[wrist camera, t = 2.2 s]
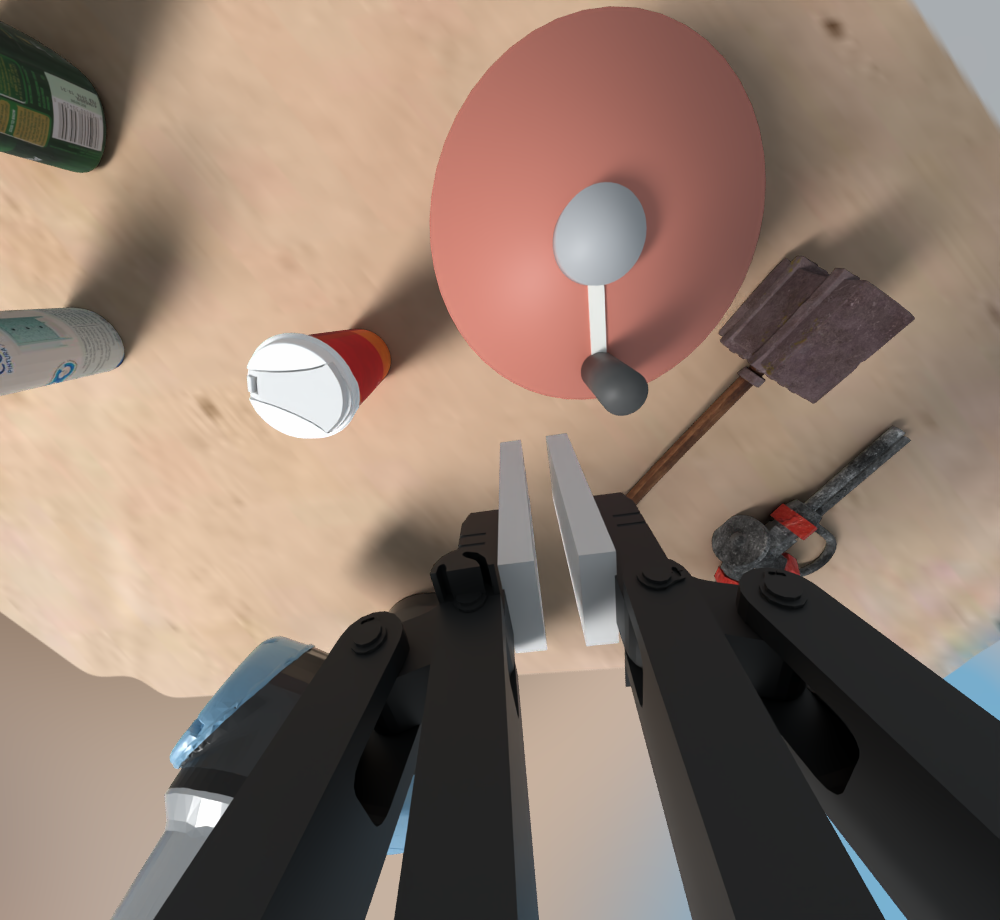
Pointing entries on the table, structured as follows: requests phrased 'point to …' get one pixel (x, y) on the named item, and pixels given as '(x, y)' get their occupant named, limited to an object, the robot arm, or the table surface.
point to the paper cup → (315, 379)
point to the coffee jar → (47, 106)
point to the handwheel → (597, 204)
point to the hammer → (795, 341)
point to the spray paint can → (54, 347)
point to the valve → (796, 520)
